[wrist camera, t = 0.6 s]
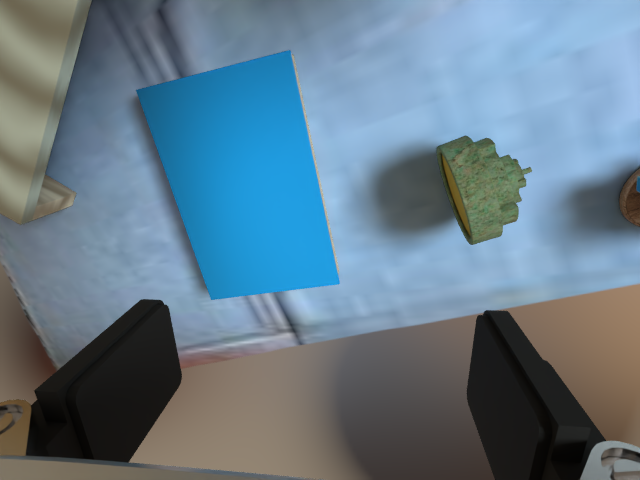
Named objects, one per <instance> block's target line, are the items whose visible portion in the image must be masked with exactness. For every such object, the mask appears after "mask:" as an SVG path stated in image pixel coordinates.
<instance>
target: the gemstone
mask: <svg viewBox="0 0 640 480" xmlns="http://www.w3.org/2000/svg"><path fill="white" fill-rule="evenodd" d="M619 205H620V209H621V212H622V214H623V216H624V217H625V218H626V219H627V220H628V221H630V222H631V223H633V224H635V225H637V226H639V227H640V169H638V170H637V171H636V172H635V173H634V174H633V175H632V176H631V177H630V178H629V179H628V180H627V182H626V183H625V185H624V186H623V188H622V191H621V194H620V199H619Z"/></svg>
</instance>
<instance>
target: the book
mask: <svg viewBox="0 0 640 480" xmlns="http://www.w3.org/2000/svg"><path fill="white" fill-rule="evenodd" d="M136 92H137V94H138V97H139V100H140V103H141V105H142V108H143V111H144V114H145V117H146V119H147V122H148V125H149V128H150V131H151V133H152V136H153V139H154V142H155V144H156V147H157V150H158V153H159V156H160V158H161V161H162V164H163V167H164V170H165V172H166V175H167V178H168V181H169V183H170V186H171V189H172V192H173V195H174V197H175V200H176V203H177V206H178V209H179V211H180V214H181V217H182V220H183V222H184V225H185V228H186V231H187V234H188V236H189V239H190V242H191V245H192V247H193V250H194V253H195V256H196V259H197V261H198V264H199V267H200V270H201V273H202V275H203V278H204V281H205V284H206V286H207V289H208V292H209V295H210V298H211V300H215V299H223V298H231V297H239V296H247V295H255V294H263V293H271V292H279V291H287V290H296V289H304V288H312V287H320V286H328V285H336V284H339V283H340V281H339V277H338V274H339V268H338V263H337V258H336V253H335V249H334V244H333V239H332V234H331V230H330V225H329V220H328V216H327V211H326V206H325V201H324V197H323V192H322V187H321V182H320V178H319V173H318V168H317V163H316V159H315V154H314V149H313V144H312V140H311V135H310V130H309V125H308V121H307V116H306V111H305V107H304V102H303V97H302V92H301V88H300V83H299V78H298V73H297V69H296V64H295V59H294V55H293V54H291V51H290V50H288V51H284V52H281V53H277V54H273V55H269V56H265V57H261V58H257V59H254V60H250V61H246V62H242V63H238V64H234V65H231V66H227V67H223V68H219V69H215V70H211V71H207V72H204V73H200V74H196V75H192V76H188V77H184V78H180V79H177V80H173V81H169V82H165V83H161V84H157V85H153V86H150V87H146V88H142V89H138V90H136Z"/></svg>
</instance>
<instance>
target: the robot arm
mask: <svg viewBox="0 0 640 480" xmlns="http://www.w3.org/2000/svg"><path fill="white" fill-rule="evenodd" d="M181 378H182V374H181V368H180V363H179V358H178V353H177V348H176V343H175V338H174V332H173V327H172V322H171V317H170V312H169V308H168V306H167V305H164V303H163V302H162V301H161V300H147V299H143V300H140V301H139V302H138V303H136V304H135V305H134V306H133V307H132V308H131V309H129V310H128V311H127V312H126V313H125V314H124V315H122V316H121V317H120V318H119V319H118V320H116V321H115V322H114V323H113V324H112V325H111V326H109V327H108V328H107V329H106V330H105V331H104V332H102V333H101V334H100V335H99V336H98V337H97V338H95V339H94V340H93V341H92V342H91V343H90V344H88V345H87V346H86V347H85V348H84V349H82V350H81V351H80V352H79V353H78V354H77V355H75V356H74V357H73V358H72V359H71V360H70V361H68V362H67V363H66V364H65V365H64V366H63V367H61V368H60V369H59V370H58V371H57V372H56V373H54V374H53V375H52V376H51V377H50V378H48V379H47V380H46V381H45V382H44V383H43V384H42V385H40V386H39V387H38V388H37V389H36V390H35V394H36V396H37V399H38V400H37V401H36V402H34V403H33V404H32V405H31V404H30V403H29V402H27V401H26V400H19V399H16V400H7V401H4V402H1V403H0V480H321V479H311V478H300V477H289V476H278V475H267V474H256V473H245V472H232V471H222V470H210V469H199V468H188V467H176V466H163V465H151V464H139V463H128V462H129V461H130V459H131V458H132V456H133V455H134V453H135V452H136V450H137V449H138V447H139V445H140V444H141V443H142V441H143V440H144V438H145V437H146V435H147V434H148V432H149V431H150V429H151V428H152V426H153V425H154V423H155V421H156V420H157V419H158V417H159V416H160V414H161V413H162V411H163V410H164V408H165V407H166V405H167V404H168V402H169V401H170V399H171V398H172V396H173V395H174V393H175V392H176V390H177V389H178V387H179V385H180V383H181ZM467 400H468V405H469V407H470V410H471V413H472V416H473V419H474V422H475V424H476V427H477V430H478V433H479V436H480V439H481V441H482V444H483V447H484V450H485V452H486V455H487V458H488V461H489V464H490V467H491V470H492V472H493V475H494V478H495V480H640V448H639V447H636V446H634V445H631V444H627V443H623V442H619V441H606V440H605V439H604V437H603V436H602V434H601V433H600V431H599V430H598V429H597V428H596V426H595V425H594V423H593V422H592V421H591V419H590V418H589V416H588V415H587V414H586V413H585V411H584V410H583V408H582V407H581V406H580V404H579V403H578V402H577V400H576V399H575V397H574V396H573V395H572V393H571V392H570V391H569V389H568V388H567V386H566V385H565V384H564V383H563V381H562V380H561V378H560V377H559V376H558V374H557V373H556V372H555V370H554V369H553V367H552V366H551V365H550V364H549V363H548V362H547V361H545V360H543V359H542V358H541V357H540V355H539V354H538V352H537V351H536V350H535V348H534V347H533V346H532V344H531V343H530V341H529V340H528V338H527V337H526V336H525V334H524V333H523V332H522V330H521V329H520V327H519V326H518V324H517V323H516V322H515V320H514V319H513V318H512V316H511V315H510V313H509V312H508V311H491V310H486V311H485V312H484V314H483V315H478V317H477V320H476V327H475V334H474V341H473V349H472V357H471V364H470V371H469V379H468V386H467Z"/></svg>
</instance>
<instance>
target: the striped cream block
mask: <svg viewBox="0 0 640 480" xmlns="http://www.w3.org/2000/svg"><path fill="white" fill-rule="evenodd" d="M91 1H92V0H0V213H1V214H2V215H4V216H6V217H8V218H9V219H11V220H13V221H15V222H16V223H18V224H20V225H22V224H24V223H27V222H30V221H32V220H35V219H38V218H40V217H43V216H46V215H48V214H51V213H54V212H56V211H59V210H62V209H64V208H67V207H70V206H72V205H73V202H74V199H75V196H76V192H74V191H72V190H71V189H69V188H67V187H66V186H64V185H62V184H61V183H59V182H57V181H56V180H54V179H52V178H50V177H49V176H47V175H45V172H46V168H47V164H48V161H49V157H50V153H51V149H52V146H53V142H54V138H55V135H56V131H57V127H58V124H59V120H60V116H61V112H62V109H63V105H64V101H65V98H66V94H67V90H68V86H69V83H70V79H71V75H72V72H73V68H74V64H75V60H76V57H77V53H78V49H79V46H80V42H81V38H82V35H83V31H84V27H85V23H86V20H87V16H88V12H89V9H90V5H91Z"/></svg>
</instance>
